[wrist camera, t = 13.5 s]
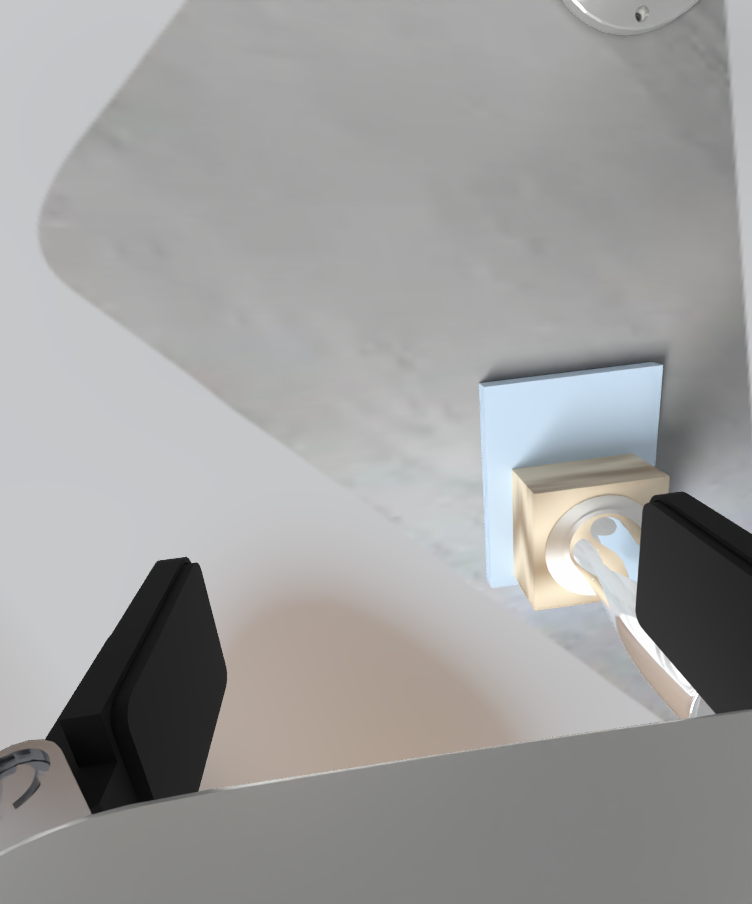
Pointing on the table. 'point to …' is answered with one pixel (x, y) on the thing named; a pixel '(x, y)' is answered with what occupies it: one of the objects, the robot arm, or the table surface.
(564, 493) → the plinth
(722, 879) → the robot arm
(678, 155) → the table surface
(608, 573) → the beer glass
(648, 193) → the table surface
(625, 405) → the blueprint board
